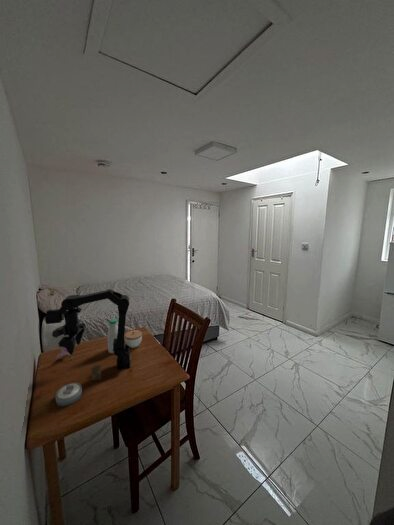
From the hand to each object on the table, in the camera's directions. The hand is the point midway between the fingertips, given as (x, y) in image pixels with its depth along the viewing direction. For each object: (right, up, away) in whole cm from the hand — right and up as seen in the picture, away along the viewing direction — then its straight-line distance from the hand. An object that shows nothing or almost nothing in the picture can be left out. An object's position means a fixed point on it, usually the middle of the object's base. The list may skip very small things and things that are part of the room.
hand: (75, 349), depth 108 cm
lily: (-13, -11, +14) cm, 22 cm away
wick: (+12, -14, -2) cm, 19 cm away
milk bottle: (+11, -10, +23) cm, 28 cm away
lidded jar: (+22, -9, +29) cm, 37 cm away
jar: (+5, -16, -13) cm, 21 cm away
